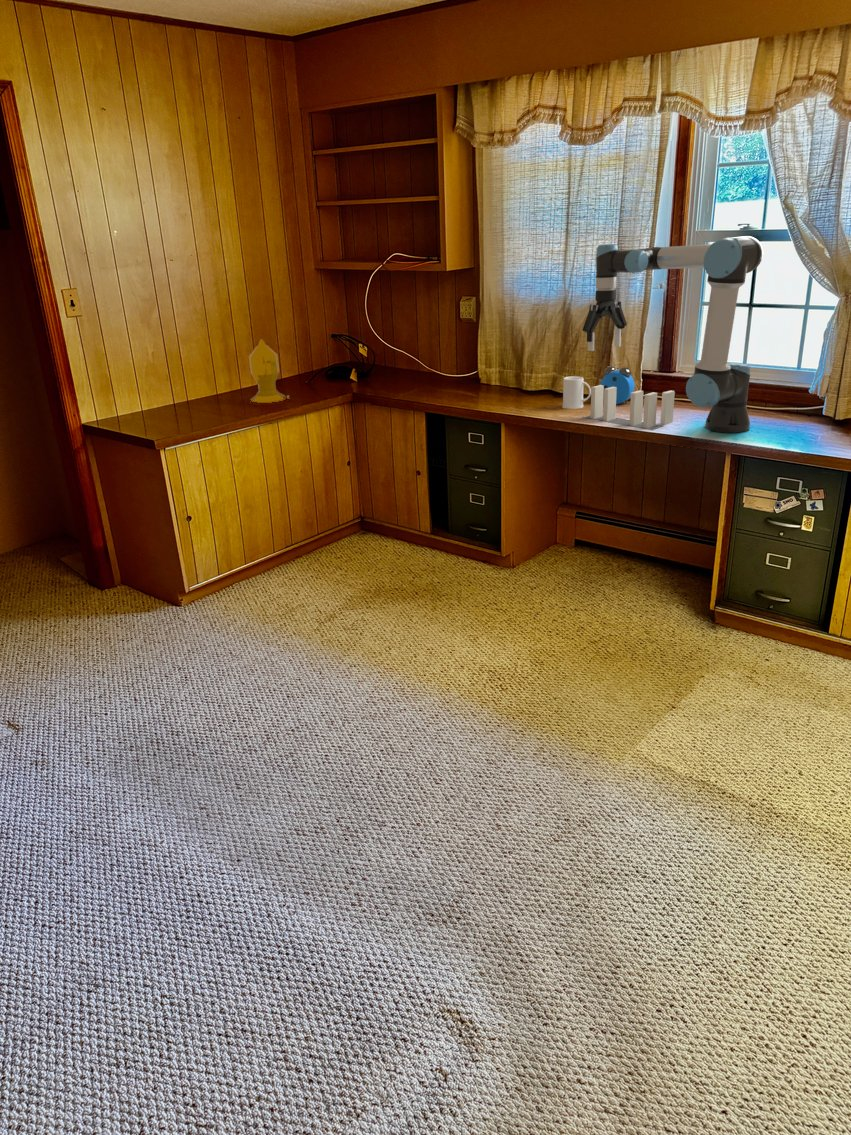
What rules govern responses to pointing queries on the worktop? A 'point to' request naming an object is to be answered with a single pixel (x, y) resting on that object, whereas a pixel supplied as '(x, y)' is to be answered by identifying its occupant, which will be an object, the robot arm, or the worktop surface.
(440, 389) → the worktop surface
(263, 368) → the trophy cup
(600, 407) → the domino
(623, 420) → the mat
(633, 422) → the domino
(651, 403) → the domino
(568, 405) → the mug
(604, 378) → the alarm clock
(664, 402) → the domino
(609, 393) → the domino
